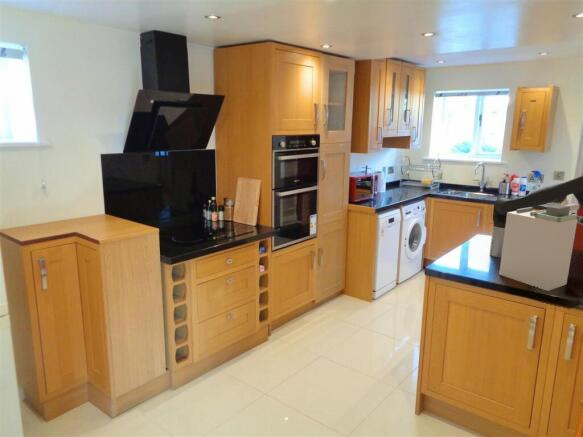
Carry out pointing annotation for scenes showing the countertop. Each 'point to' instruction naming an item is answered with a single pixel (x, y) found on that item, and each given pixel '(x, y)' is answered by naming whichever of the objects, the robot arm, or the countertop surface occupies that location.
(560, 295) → the countertop surface
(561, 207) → the light grey rectangular prism
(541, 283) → the cabinet
